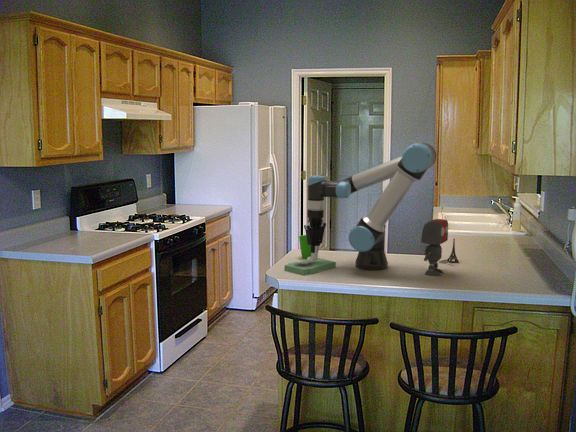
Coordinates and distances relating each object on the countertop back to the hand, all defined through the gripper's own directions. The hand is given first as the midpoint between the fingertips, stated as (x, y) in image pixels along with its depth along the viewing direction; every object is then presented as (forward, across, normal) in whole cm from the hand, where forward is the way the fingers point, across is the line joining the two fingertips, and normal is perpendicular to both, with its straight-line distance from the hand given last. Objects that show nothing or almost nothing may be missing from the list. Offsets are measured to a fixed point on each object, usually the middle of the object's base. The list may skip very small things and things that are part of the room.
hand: (314, 259), depth 264 cm
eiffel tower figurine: (+4, -58, +38) cm, 70 cm away
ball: (0, +3, 0) cm, 3 cm away
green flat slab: (+4, +3, 0) cm, 5 cm away
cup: (+4, -12, -16) cm, 20 cm away
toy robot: (+4, -32, +44) cm, 54 cm away
